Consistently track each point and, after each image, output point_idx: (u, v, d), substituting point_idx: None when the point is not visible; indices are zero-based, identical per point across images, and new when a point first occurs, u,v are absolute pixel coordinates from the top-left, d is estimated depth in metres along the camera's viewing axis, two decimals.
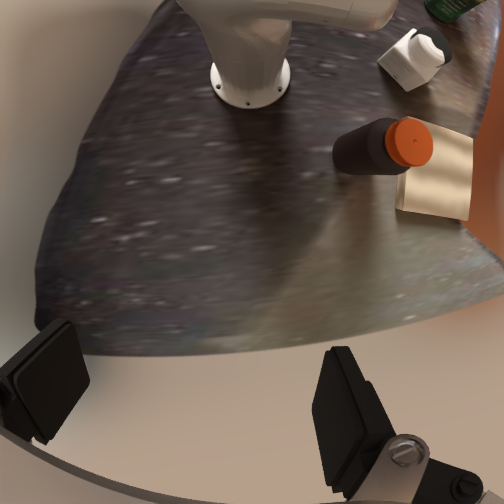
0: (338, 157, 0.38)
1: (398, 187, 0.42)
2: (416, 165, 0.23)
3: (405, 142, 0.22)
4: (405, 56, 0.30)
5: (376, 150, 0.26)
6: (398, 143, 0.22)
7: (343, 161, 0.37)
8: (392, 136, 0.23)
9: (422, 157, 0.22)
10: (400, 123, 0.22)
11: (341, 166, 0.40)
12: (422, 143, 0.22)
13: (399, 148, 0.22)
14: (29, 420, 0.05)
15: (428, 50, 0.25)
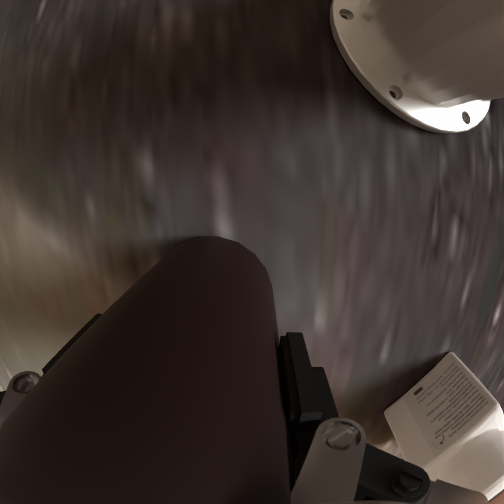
0: (175, 254, 0.12)
1: None
2: None
3: None
4: (475, 430, 0.10)
5: None
6: None
7: (149, 271, 0.10)
8: None
9: None
10: None
11: None
12: None
13: None
14: None
15: (489, 492, 0.06)
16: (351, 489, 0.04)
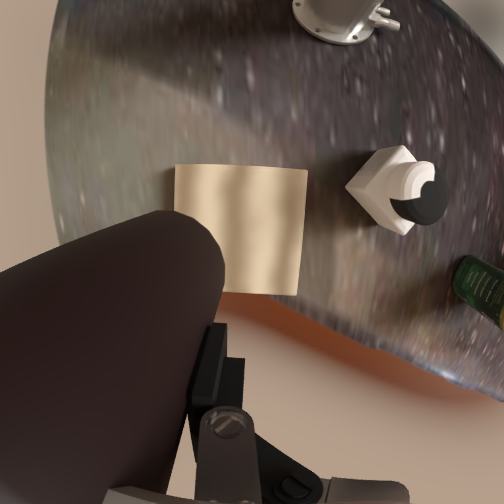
0: (146, 218, 0.12)
1: None
2: None
3: None
4: (393, 158, 0.27)
5: None
6: None
7: (116, 224, 0.10)
8: None
9: None
10: None
11: None
12: None
13: None
14: None
15: (412, 170, 0.23)
16: (253, 475, 0.04)
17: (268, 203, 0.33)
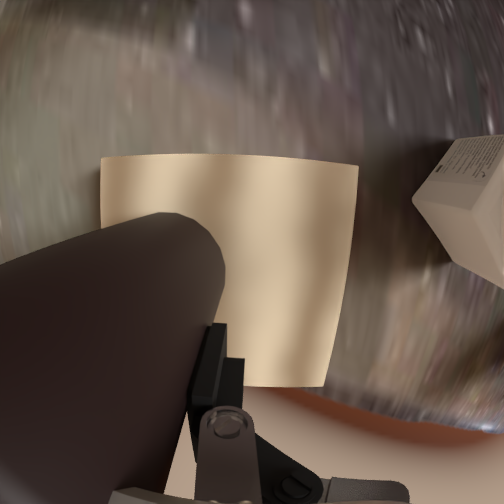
0: (148, 218, 0.12)
1: None
2: None
3: None
4: None
5: None
6: None
7: (119, 223, 0.10)
8: None
9: None
10: None
11: None
12: None
13: None
14: None
15: None
16: (254, 475, 0.04)
17: (279, 233, 0.16)
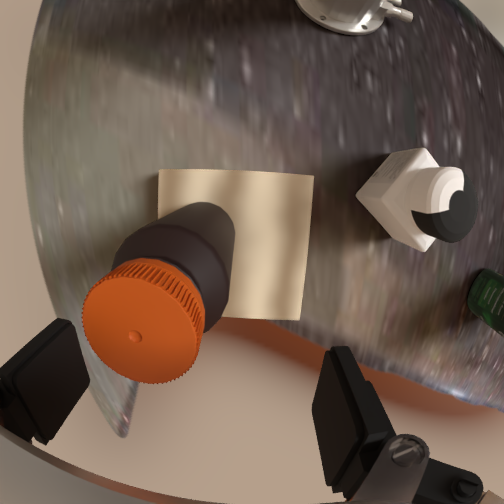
0: (201, 204, 0.25)
1: None
2: (83, 312, 0.09)
3: (136, 308, 0.09)
4: (413, 162, 0.22)
5: (161, 241, 0.13)
6: (137, 286, 0.09)
7: (190, 206, 0.23)
8: (162, 280, 0.10)
9: (99, 337, 0.09)
10: (188, 318, 0.09)
11: (187, 205, 0.26)
12: (130, 353, 0.10)
13: (124, 283, 0.09)
14: (29, 420, 0.05)
15: (440, 178, 0.18)
16: None
17: (266, 215, 0.28)
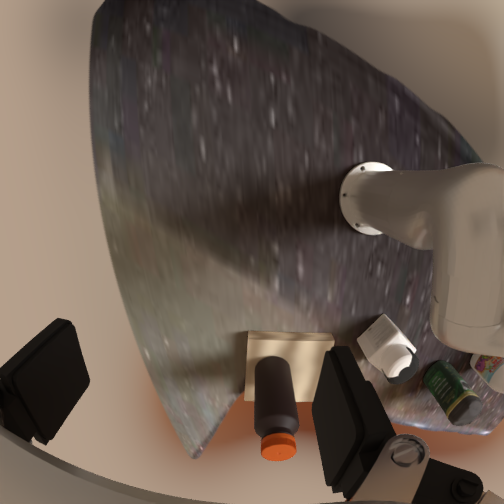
0: (276, 366, 0.46)
1: (267, 333, 0.51)
2: (263, 450, 0.31)
3: (281, 449, 0.31)
4: (390, 341, 0.43)
5: (279, 421, 0.34)
6: (282, 445, 0.30)
7: (273, 372, 0.44)
8: (288, 442, 0.31)
9: (266, 454, 0.31)
10: (295, 449, 0.31)
11: (267, 363, 0.47)
12: (275, 456, 0.31)
13: (279, 445, 0.30)
14: (29, 420, 0.05)
15: (397, 363, 0.39)
16: None
17: (307, 360, 0.50)
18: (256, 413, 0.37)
